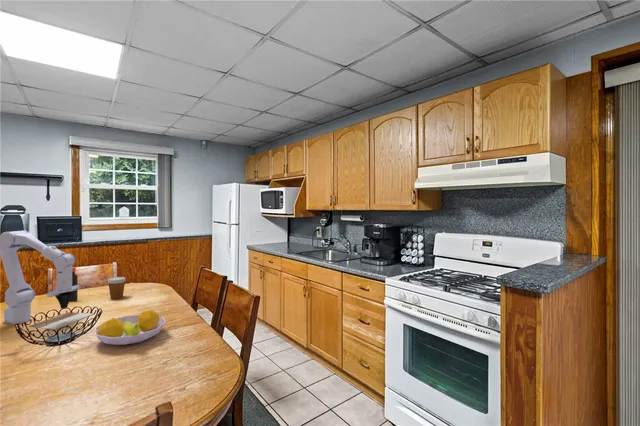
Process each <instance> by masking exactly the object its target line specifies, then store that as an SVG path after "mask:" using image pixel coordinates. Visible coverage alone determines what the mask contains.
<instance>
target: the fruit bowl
mask: <svg viewBox="0 0 640 426" xmlns="http://www.w3.org/2000/svg"><path fill="white" fill-rule="evenodd" d="M166 323H167V321H166V319H165V318H164V317H163V316H162V315H160V314H158V313H157V312H155V310H153V309H147V310H144V311H142V312H141V313H140V314H134V315H126V316H123V317H122V316H121V317H119V318H116V317H112V318H110V319H108V320H106V321H105V322H103V323H101V324H100V325H98V326H96V327H95V328H94V335H95V337H96V338H97V339H98V340H99V341H101V342H102V343H104V344H106V345H107V344H108V345H114V346H121V345H129V344H131V345H132V344H139V343H142V342H144V341H146V340H148V339H150V338H152V337H154V336H157V335H158V334H159V333H160V332H161V330H162V329H163V327H164V326H165V324H166Z"/></svg>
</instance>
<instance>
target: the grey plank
mask: <svg viewBox="0 0 640 426" xmlns="http://www.w3.org/2000/svg"><path fill="white" fill-rule="evenodd" d="M93 315H95V313H88V312H83V313H82V312H79V314H76V315H74V316H71V317H68V318H65V319H63V320H60V321H57V322H54V323H52V324H49V325H46V326H43V327H41V329H45V330H58V329H60V328H62V327H65V326H67V325H70V324H73V323H75V322H78V321H81V320H83V319H86V318H89V317H92V316H93Z"/></svg>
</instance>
